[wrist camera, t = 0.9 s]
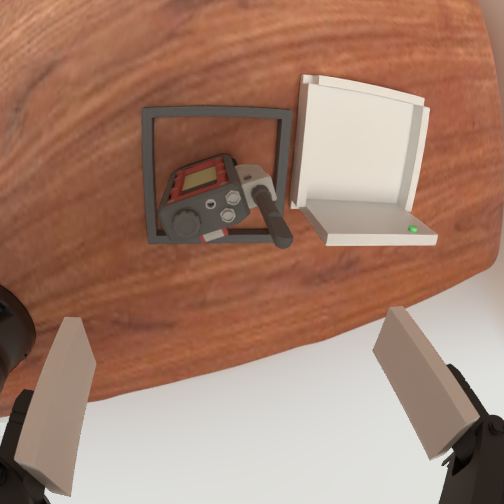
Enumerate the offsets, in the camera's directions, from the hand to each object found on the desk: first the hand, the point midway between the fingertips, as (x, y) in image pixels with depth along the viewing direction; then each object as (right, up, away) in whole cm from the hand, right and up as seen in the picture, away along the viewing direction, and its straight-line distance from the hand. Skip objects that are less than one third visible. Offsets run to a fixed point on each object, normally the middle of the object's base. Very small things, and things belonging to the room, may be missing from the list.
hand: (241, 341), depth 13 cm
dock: (+12, +16, +22) cm, 29 cm away
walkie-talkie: (-4, +12, +21) cm, 25 cm away
